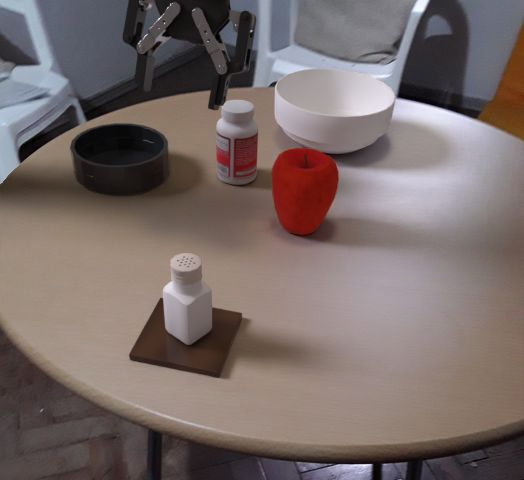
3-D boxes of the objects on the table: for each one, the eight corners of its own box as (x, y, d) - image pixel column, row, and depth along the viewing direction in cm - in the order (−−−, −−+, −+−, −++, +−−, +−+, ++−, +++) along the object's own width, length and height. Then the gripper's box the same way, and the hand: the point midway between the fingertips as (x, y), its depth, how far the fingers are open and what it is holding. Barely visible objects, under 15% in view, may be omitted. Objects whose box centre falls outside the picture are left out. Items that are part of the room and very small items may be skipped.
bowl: (252, 125, 110) (254, 76, 105) (346, 109, 117) (353, 62, 112) (308, 177, 98) (313, 125, 92) (409, 155, 105) (420, 105, 99)
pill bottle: (260, 170, 99) (264, 100, 91) (250, 189, 95) (253, 117, 87) (222, 164, 100) (223, 94, 92) (211, 182, 96) (210, 111, 88)
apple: (333, 214, 91) (344, 143, 83) (328, 248, 84) (338, 175, 77) (273, 206, 91) (278, 135, 84) (263, 239, 85) (267, 166, 78)
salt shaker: (188, 348, 68) (185, 278, 62) (163, 331, 70) (157, 262, 63) (214, 330, 70) (214, 261, 64) (189, 314, 72) (186, 245, 66)
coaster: (129, 359, 68) (128, 354, 67) (160, 302, 75) (160, 297, 74) (218, 377, 66) (218, 372, 66) (242, 317, 73) (242, 312, 73)
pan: (58, 186, 92) (53, 158, 89) (98, 144, 102) (94, 117, 99) (150, 202, 91) (148, 173, 88) (181, 157, 101) (180, 130, 98)
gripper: (125, -88, 63) (106, 84, 69) (260, -58, 61) (227, 116, 67) (155, -70, 69) (135, 85, 76) (277, -42, 67) (245, 114, 74)
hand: (178, 100), depth 72 cm, fingers open, 8 cm apart
